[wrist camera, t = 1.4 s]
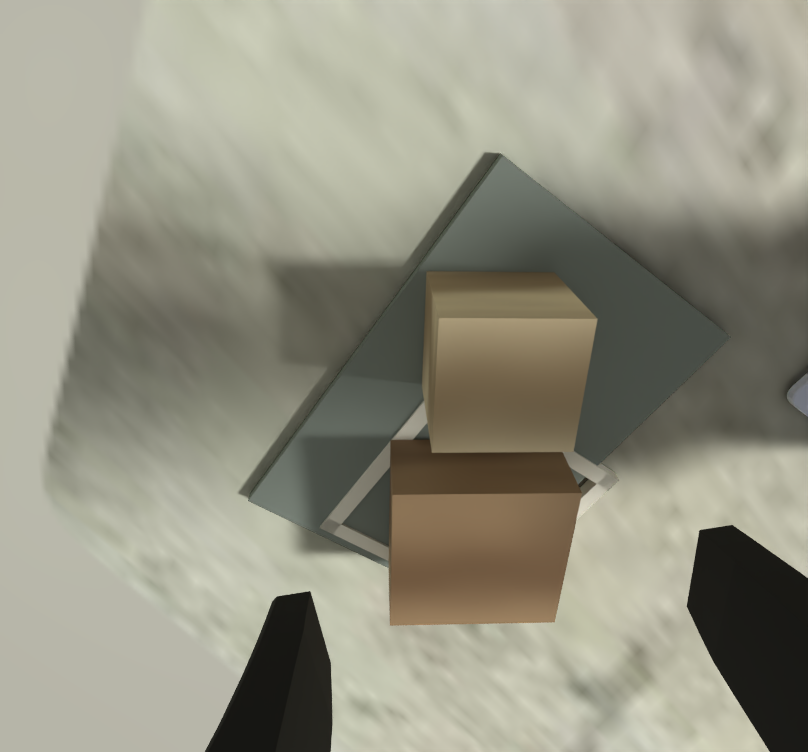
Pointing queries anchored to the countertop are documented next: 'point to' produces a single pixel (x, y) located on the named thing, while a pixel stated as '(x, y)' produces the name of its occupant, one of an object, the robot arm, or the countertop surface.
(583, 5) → the countertop surface
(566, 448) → the maple cube
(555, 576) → the walnut slab
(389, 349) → the slate mat
